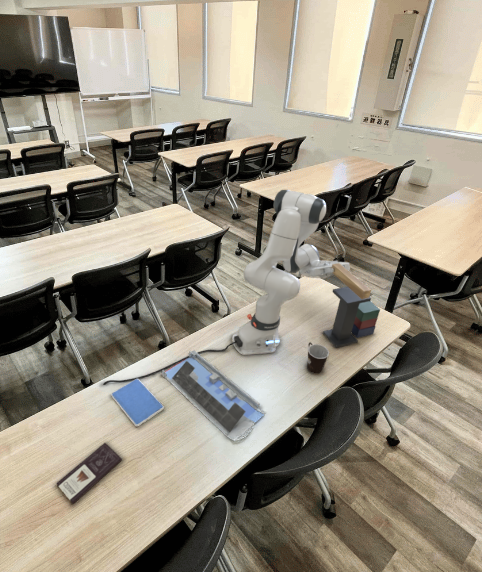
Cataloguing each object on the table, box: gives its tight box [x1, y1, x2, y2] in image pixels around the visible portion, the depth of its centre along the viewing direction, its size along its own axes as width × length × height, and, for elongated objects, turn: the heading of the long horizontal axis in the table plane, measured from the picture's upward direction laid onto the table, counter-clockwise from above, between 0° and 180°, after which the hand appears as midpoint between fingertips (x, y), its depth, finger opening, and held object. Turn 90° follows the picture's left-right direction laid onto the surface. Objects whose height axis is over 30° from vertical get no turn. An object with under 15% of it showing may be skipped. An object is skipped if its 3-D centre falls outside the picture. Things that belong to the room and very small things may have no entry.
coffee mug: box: [306, 342, 330, 375], centre depth 154 cm, size 12×9×10 cm
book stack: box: [351, 300, 381, 339], centre depth 175 cm, size 10×15×15 cm, turn 19°
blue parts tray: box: [160, 350, 267, 442], centre depth 141 cm, size 18×45×6 cm, turn 44°
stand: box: [322, 286, 372, 349], centre depth 165 cm, size 12×11×26 cm
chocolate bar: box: [56, 442, 123, 505], centre depth 115 cm, size 9×1×18 cm
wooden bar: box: [332, 263, 372, 299], centre depth 157 cm, size 4×23×4 cm, turn 19°
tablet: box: [110, 379, 165, 428], centre depth 138 cm, size 19×13×1 cm, turn 43°
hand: (338, 269), depth 164 cm, fingers closed on wooden bar, 3 cm apart
